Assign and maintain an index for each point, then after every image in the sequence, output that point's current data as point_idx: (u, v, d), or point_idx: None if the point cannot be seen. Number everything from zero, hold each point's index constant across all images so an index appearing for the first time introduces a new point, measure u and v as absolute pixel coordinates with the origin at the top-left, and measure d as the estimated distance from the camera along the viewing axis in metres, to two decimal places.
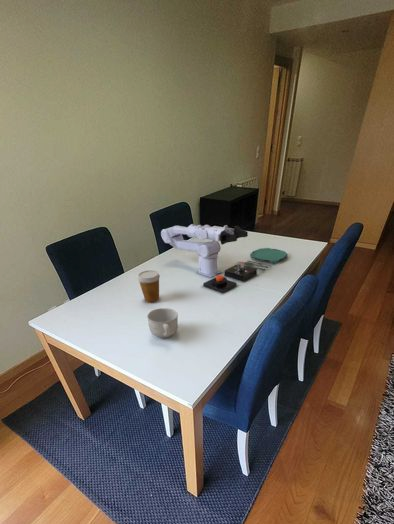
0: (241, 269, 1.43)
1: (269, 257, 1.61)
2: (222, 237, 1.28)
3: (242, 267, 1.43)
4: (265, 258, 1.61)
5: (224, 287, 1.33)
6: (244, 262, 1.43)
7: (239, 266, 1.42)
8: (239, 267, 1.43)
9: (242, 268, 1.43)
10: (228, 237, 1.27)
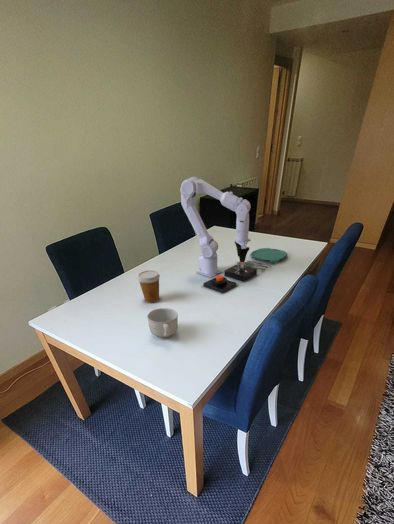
0: (241, 269, 1.43)
1: (269, 257, 1.61)
2: None
3: (242, 267, 1.43)
4: (265, 258, 1.61)
5: (224, 287, 1.33)
6: (244, 262, 1.43)
7: (239, 266, 1.42)
8: (239, 267, 1.43)
9: (242, 268, 1.43)
10: (243, 253, 1.36)
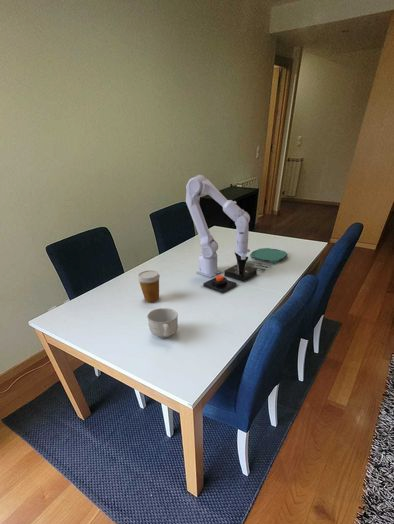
0: None
1: (269, 257, 1.61)
2: None
3: None
4: (265, 258, 1.61)
5: (224, 287, 1.33)
6: None
7: None
8: None
9: None
10: (242, 263, 1.40)
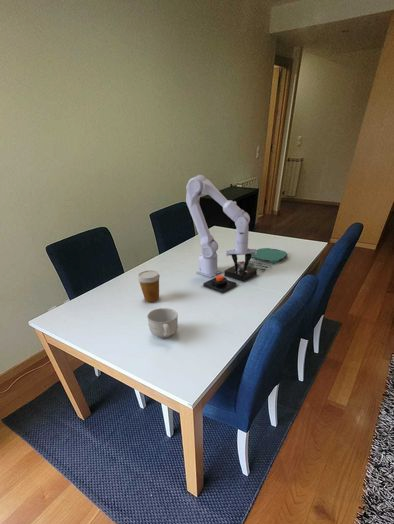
0: (244, 267, 1.45)
1: (269, 257, 1.61)
2: None
3: None
4: (265, 258, 1.61)
5: (224, 287, 1.33)
6: None
7: (244, 265, 1.43)
8: (244, 266, 1.43)
9: None
10: None
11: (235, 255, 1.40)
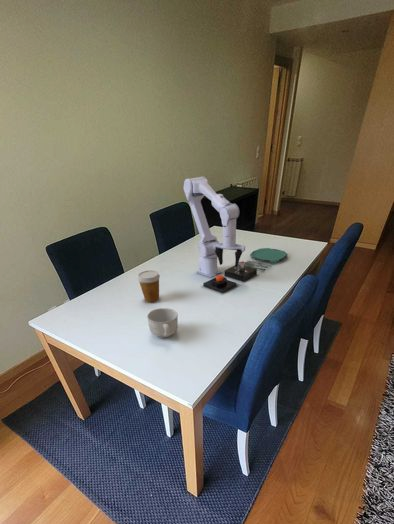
0: (244, 267, 1.45)
1: (269, 257, 1.61)
2: None
3: None
4: (265, 258, 1.61)
5: (224, 287, 1.33)
6: None
7: (244, 265, 1.43)
8: (244, 266, 1.43)
9: None
10: None
11: (219, 249, 1.33)
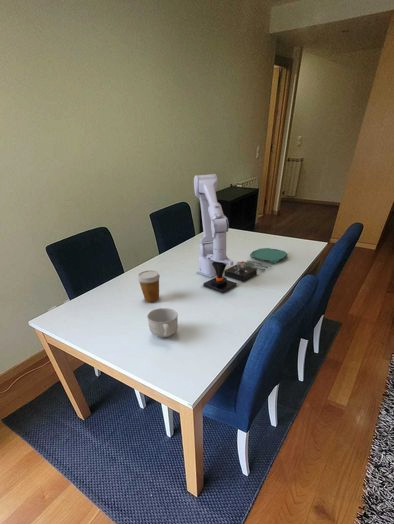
0: (244, 267, 1.45)
1: (269, 257, 1.61)
2: None
3: None
4: (265, 258, 1.61)
5: (224, 287, 1.33)
6: None
7: (244, 265, 1.43)
8: (244, 266, 1.43)
9: None
10: (221, 269, 1.33)
11: (217, 262, 1.31)
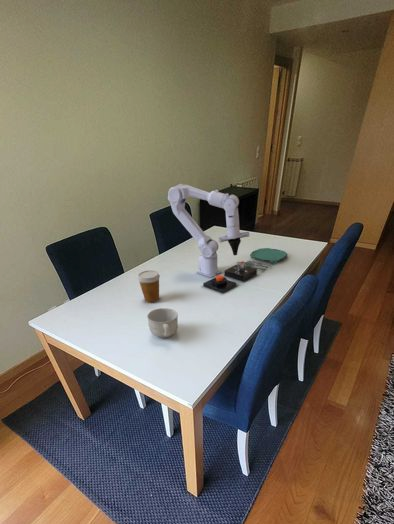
0: (244, 267, 1.45)
1: (269, 257, 1.61)
2: None
3: None
4: (265, 258, 1.61)
5: (224, 287, 1.33)
6: None
7: (244, 265, 1.43)
8: (244, 266, 1.43)
9: None
10: None
11: (232, 240, 1.36)
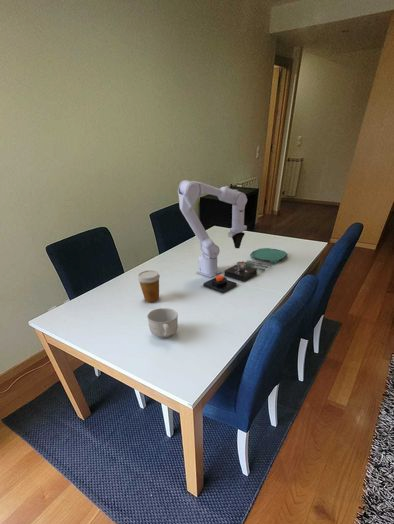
0: (244, 267, 1.45)
1: (269, 257, 1.61)
2: None
3: None
4: (265, 258, 1.61)
5: (224, 287, 1.33)
6: None
7: (244, 265, 1.43)
8: (244, 266, 1.43)
9: None
10: None
11: (238, 233, 1.44)
